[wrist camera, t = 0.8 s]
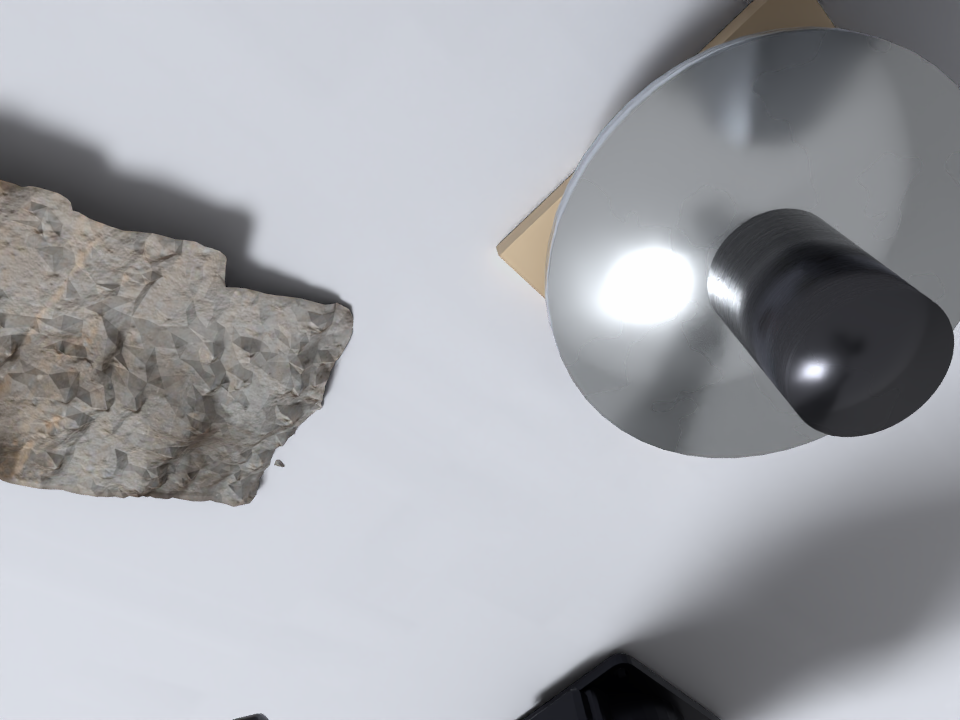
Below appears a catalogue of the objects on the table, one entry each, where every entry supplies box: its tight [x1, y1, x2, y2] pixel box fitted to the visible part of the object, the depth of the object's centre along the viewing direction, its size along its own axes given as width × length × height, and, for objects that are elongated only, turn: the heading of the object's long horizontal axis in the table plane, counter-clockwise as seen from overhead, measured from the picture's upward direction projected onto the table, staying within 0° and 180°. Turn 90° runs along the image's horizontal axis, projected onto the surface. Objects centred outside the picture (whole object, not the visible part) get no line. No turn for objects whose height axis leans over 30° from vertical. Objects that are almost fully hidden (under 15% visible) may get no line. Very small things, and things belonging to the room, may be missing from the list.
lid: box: [545, 26, 960, 458], centre depth 18 cm, size 11×11×6 cm
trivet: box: [496, 0, 835, 298], centre depth 21 cm, size 9×9×1 cm
